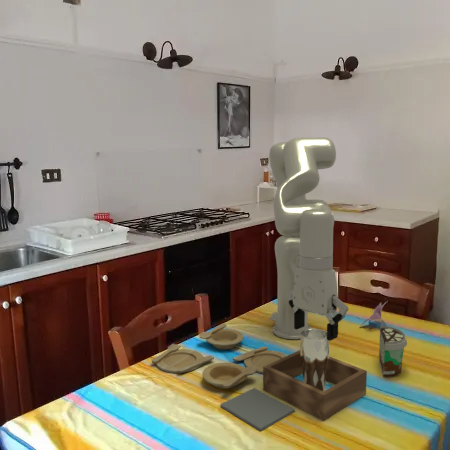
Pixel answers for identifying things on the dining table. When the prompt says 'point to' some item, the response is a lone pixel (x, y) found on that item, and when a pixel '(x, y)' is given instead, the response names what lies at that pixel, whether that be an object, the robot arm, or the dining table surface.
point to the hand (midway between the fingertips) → (315, 333)
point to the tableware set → (219, 372)
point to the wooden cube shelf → (310, 396)
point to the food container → (391, 350)
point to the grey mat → (257, 409)
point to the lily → (376, 314)
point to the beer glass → (314, 357)
